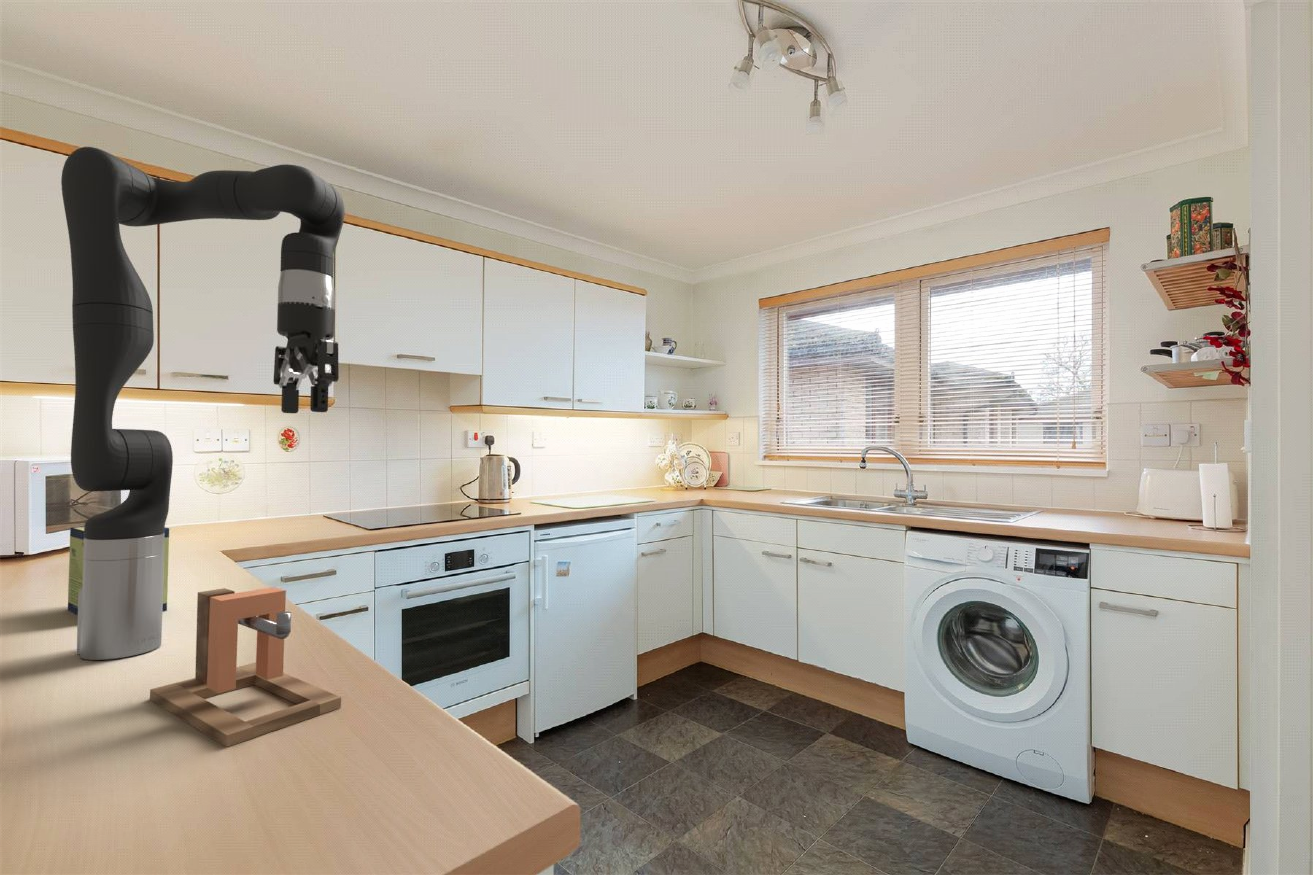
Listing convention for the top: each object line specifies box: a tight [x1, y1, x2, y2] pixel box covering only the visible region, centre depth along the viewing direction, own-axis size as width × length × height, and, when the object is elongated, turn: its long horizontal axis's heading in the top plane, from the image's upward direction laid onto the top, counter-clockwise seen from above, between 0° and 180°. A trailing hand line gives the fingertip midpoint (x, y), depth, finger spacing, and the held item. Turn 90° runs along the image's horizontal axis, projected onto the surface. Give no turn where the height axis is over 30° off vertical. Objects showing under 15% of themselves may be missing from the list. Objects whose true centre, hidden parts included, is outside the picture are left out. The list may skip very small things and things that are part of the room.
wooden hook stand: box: [149, 587, 342, 748], centre depth 75 cm, size 21×12×12 cm, turn 56°
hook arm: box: [238, 611, 292, 640], centre depth 74 cm, size 17×1×3 cm, turn 56°
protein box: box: [67, 525, 170, 615], centre depth 115 cm, size 10×16×16 cm
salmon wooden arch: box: [207, 586, 287, 694], centre depth 74 cm, size 7×3×10 cm, turn 146°
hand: (304, 412), depth 93 cm, fingers open, 8 cm apart
